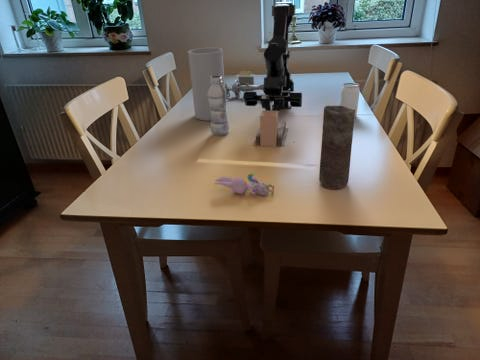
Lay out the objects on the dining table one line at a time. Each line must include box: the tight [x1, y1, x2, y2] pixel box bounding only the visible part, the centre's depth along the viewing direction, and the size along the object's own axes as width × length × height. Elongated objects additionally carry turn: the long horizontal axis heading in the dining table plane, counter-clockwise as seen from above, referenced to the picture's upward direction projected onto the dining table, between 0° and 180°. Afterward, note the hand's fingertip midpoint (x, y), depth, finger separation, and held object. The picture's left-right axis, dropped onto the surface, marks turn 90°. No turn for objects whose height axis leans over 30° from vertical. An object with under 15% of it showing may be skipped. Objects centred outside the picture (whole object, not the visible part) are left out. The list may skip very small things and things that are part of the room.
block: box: [259, 109, 279, 148], centre depth 110 cm, size 5×5×10 cm
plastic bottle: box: [208, 76, 230, 137], centre depth 118 cm, size 6×7×20 cm
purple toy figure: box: [213, 173, 275, 197], centre depth 87 cm, size 6×6×15 cm
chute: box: [252, 119, 289, 148], centre depth 117 cm, size 16×10×4 cm, turn 168°
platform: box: [236, 70, 256, 85], centre depth 183 cm, size 12×18×7 cm, turn 77°
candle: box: [318, 105, 356, 190], centre depth 86 cm, size 8×7×20 cm
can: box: [339, 82, 361, 118], centre depth 131 cm, size 6×6×12 cm
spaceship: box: [224, 79, 264, 99], centre depth 161 cm, size 8×35×8 cm
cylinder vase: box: [187, 47, 226, 122], centre depth 135 cm, size 12×12×25 cm
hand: (270, 122), depth 112 cm, fingers closed, pressing on block
